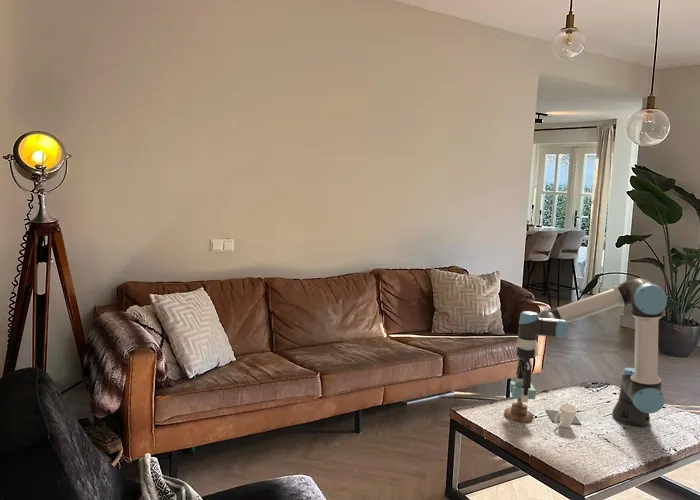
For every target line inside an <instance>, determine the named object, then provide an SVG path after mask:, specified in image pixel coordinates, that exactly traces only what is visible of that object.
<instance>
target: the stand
mask: <svg viewBox="0 0 700 500" xmlns="http://www.w3.org/2000/svg"><path fill="white" fill-rule="evenodd" d="M503 413H504V414H503V415H504V417H505V418H507V419H508V420H510V421H513V422H516V423H530V422H532V421H533V419H534V415H533V413H532V412H531V411H529V410H528V405H526V403H524V402H521V399H520V398H517V401H516V402H512V403H511V407H507V408H505V409H504V412H503Z"/></svg>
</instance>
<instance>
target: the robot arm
mask: <svg viewBox="0 0 700 500" xmlns="http://www.w3.org/2000/svg"><path fill="white" fill-rule="evenodd" d="M667 304H668V297H667V295H666V292H665V291H664V290H663V288H661V286H660V285H658V284H656V283H655V282H652V281H650V280H649V279H646V278H642V277H641V278H639V277H638V278H633V279H631V280H627V281H624V282H621V283H618V284H616V285H614V286H613V288H612V289H608V290H605V291H603V292H600V293H597V294H594V295H590V296H588V297H585V298H582V299H580V300H576V301H573V302H571V303H569V304H565V305H562V306H559V307H556V308H552V309H543V310H541V311H540V312H539V313H538V312H537V311H536V312H535V311H531V310H526V311H525V310H524V311H522V312H520V316H519V320H518V335H517V336H518V337H517V339H516V342H517V347H516V356H517V357H518V361H517V368H516V373H515V374H516V377H517V379H516V382H523V386H521V388H522V395H521V402H523V403H529V399H528V394H529V388H531V384H532V367H533V366H532V364H531V363H532V362H531V360H532V359H534V358H535V355H536V348H537V346H536V345H537V337H538V336H543V337H552V338H566V337H567V336H568V329H569V328H568V323H570V322H573V321H577V320H580V319H582V318H586V317H589V316H592V315H594V314H598V313H601V312H603V311H607V310H609V309H613V308H616V307H619V306H620V307H626V306H630V305H631V306H630V307H631V311H630V312H631V313H630V314H631V315H632V317H633V318H634V367H625V368H624V369H623V370H622V373H621V381H620V388H619V394H618V400H617V402H616V404H615V405H614V407H613V409H612V412H611V414H612V415H611V416H612V417H613V419H615V420H617V422H620V423H622V424H625V425H628V426H632V427H648V426H649V425H650V421H651V415H650V414H655V413H658V412H659V411H660V410H662V409H663V408H664V406H665V402H666V398H665V395H664V393H663V392H662V385H663V384H662V381H663V380H662V378H661V377H660V376H659V375H658V373H659V372H658V370H659V367H658V366H659V364H658V363H659V362H658V361H659V323H660V321H659V320H660V319H661V318H663V317H664V310H665V308H666V306H667Z"/></svg>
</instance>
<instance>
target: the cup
mask: <svg viewBox="0 0 700 500" xmlns="http://www.w3.org/2000/svg"><path fill="white" fill-rule="evenodd" d="M558 411H559V412H558V413H557V414H556V416H555V419H554V421H555V424H557V425H558V426H559V427H563V428H570V427H571V426H572V424H571V423H572V421H573V419H574V417H575V416H576V414H577V411H578V409H577V408H576V406H574V405H572V404H569V403H561V404H560V405H559V410H558ZM559 414H560V421H561V422H560V423H557V422H556V419H557V416H558V415H559Z"/></svg>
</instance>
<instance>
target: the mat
mask: <svg viewBox="0 0 700 500" xmlns="http://www.w3.org/2000/svg"><path fill="white" fill-rule="evenodd" d="M559 411H560V410H553V409H545V412H546V414H547V416H548V417H549V419H550V421H551V422H552V423H555V421H554V419H555V416H556V414H557V413H558V412H559ZM556 422H557V423H558V424H560V422H561V421H560V414H559V415H558V416H557V419H556ZM555 424H556V423H555ZM571 425H576V426H577V425H578V426H582V423H581V421H580V420H579V419H578V417H577V416H576V415H575V417H574V419H573V421H572V423H571Z"/></svg>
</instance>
